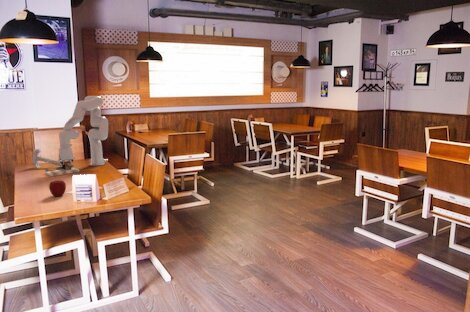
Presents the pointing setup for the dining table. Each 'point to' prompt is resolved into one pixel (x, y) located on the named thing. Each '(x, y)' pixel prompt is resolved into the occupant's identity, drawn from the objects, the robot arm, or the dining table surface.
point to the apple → (57, 187)
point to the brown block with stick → (67, 165)
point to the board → (61, 171)
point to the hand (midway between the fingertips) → (67, 168)
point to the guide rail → (55, 168)
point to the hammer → (43, 159)
